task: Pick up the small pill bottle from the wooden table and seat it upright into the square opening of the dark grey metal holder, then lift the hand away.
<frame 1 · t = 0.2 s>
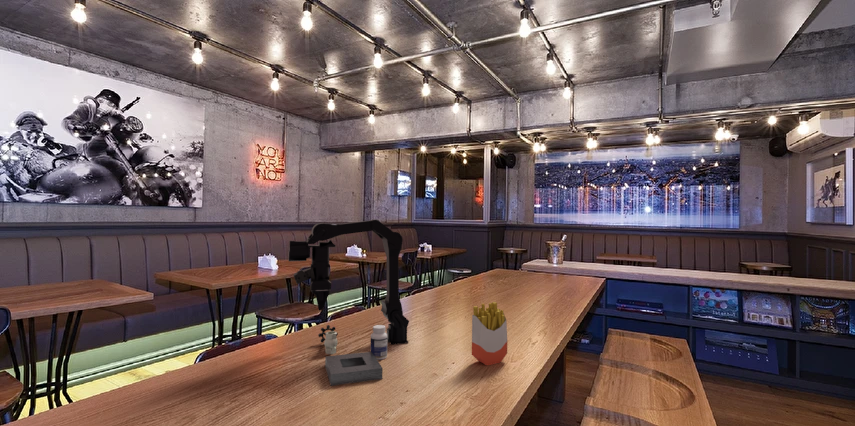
hand: (319, 307, 129), 14 cm above the table, tool pointing down, fingers open, 9 cm apart
pill bottle: (378, 357, 124), on the table
valve: (329, 349, 131), on the table
french fries container: (489, 362, 121), on the table
holder: (352, 372, 111), on the table
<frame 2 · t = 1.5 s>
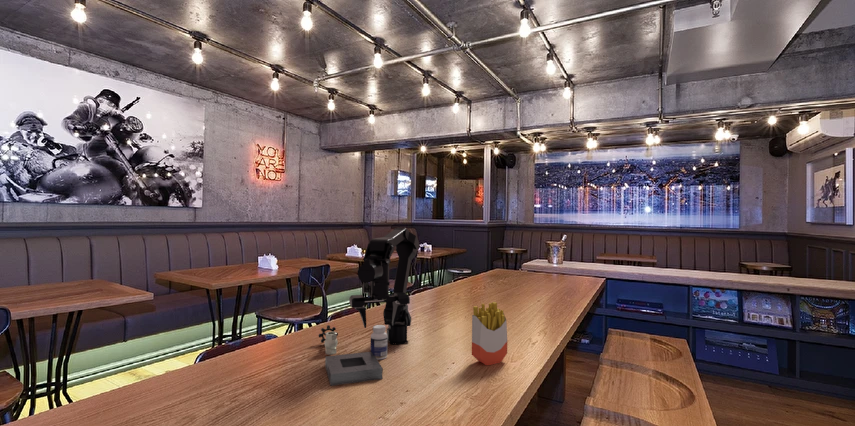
hand: (379, 326, 124), 10 cm above the table, tool pointing down, fingers open, 9 cm apart
nothing on the table moved.
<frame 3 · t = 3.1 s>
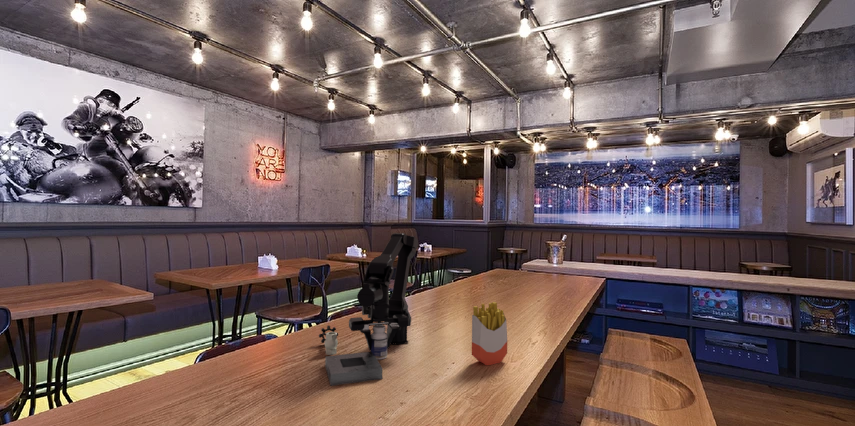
hand: (378, 349, 124), 3 cm above the table, tool pointing down, fingers closed on pill bottle, 5 cm apart
pill bottle: (378, 357, 124), on the table, touching gripper
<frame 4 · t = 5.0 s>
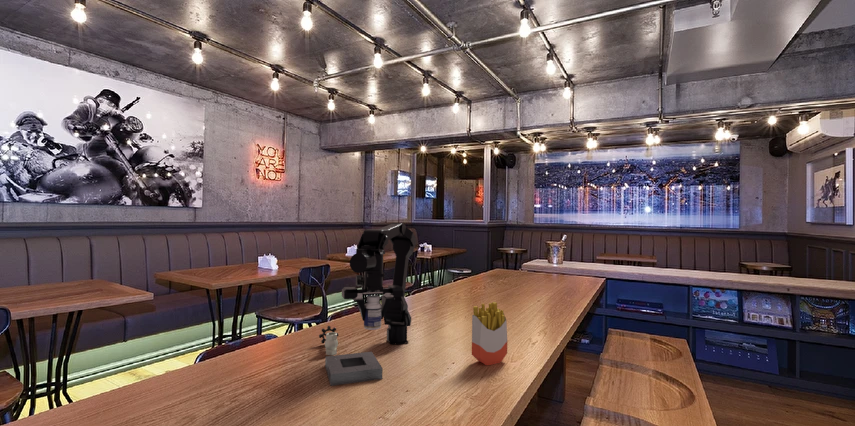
hand: (372, 319, 120), 13 cm above the table, tool pointing down, fingers closed on pill bottle, 5 cm apart
pill bottle: (372, 328, 120), point 10 cm above the table, touching gripper
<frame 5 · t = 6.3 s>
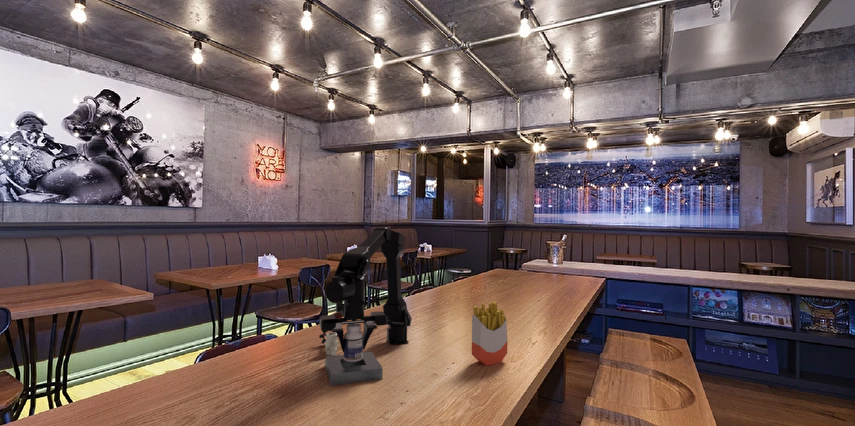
hand: (353, 350, 111), 6 cm above the table, tool pointing down, fingers closed on pill bottle, 5 cm apart
pill bottle: (353, 359, 111), point 4 cm above the table, touching gripper
when the fingers open (4 cm above the table, at t = 7.2 s): pill bottle drops 1 cm, resting in holder.
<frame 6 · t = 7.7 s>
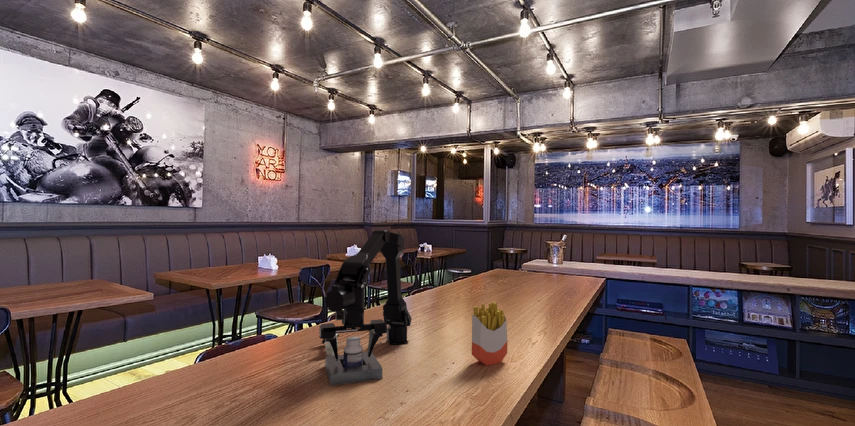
hand: (353, 358, 111), 4 cm above the table, tool pointing down, fingers open, 9 cm apart
pill bottle: (352, 373, 111), resting in holder
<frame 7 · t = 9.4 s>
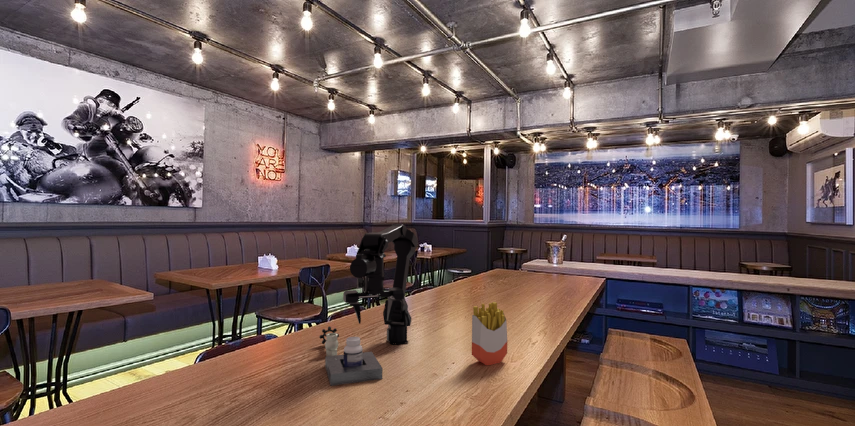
hand: (374, 322, 122), 12 cm above the table, tool pointing down, fingers open, 9 cm apart
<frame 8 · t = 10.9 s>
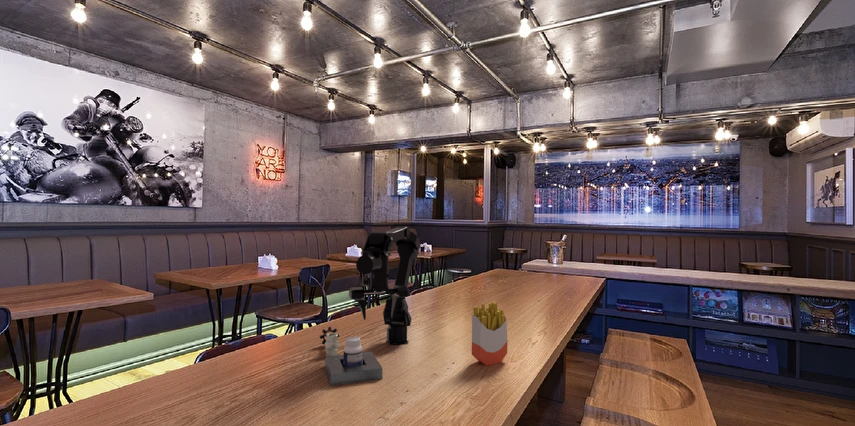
hand: (378, 318, 125), 12 cm above the table, tool pointing down, fingers open, 9 cm apart
at the end: pill bottle 0.0 cm off-centre on the holder, point 0.0 cm above the holder's base; pill bottle tilted 0°; the gripper is holding nothing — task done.
